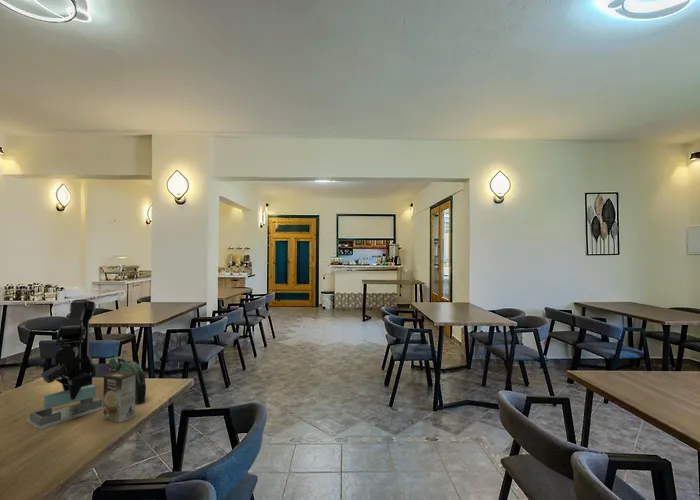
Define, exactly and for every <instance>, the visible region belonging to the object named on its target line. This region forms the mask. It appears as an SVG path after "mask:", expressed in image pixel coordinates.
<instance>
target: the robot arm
mask: <svg viewBox="0 0 700 500" xmlns="http://www.w3.org/2000/svg"><path fill="white" fill-rule="evenodd" d="M69 307H70V308H69V312H70V313H69V316H68V319H67V320H65V321H63V322H62V323H61V325H60V327H59V328H58V331H57V336H56V342H55V345H56V346H60V349H59V350H58V351H57V352H56V353H55V356H54V358H55V361H56V362H57V363H58V365H55V366H53V367H51V368H49V369H48V370H46V371H45V370H44V371H43V372H41V376H42V379H43V381H44V382H45V383H48V384H50V383H54V381H56V382H58V383H60V384H61V386H62V389H63V391H66V390H70V396H71V400H73V399H75V398H76V396H77V394H78V392H79V390H80V389H81V387H83V386H88V385H92V384H93V378H94V377H96V376H97V366H96V365H95V363H93V362H94V361H93V360H94V359H93V357H92V356H91V355H90V354H89V347H90V346H89V343H90V342H89V341H90V320H91V319H92V318H93V316H94V314H95V312H96V307H97V306H96V303H95V302H94V301H91V300H88V299H75V300H72V301H71V303H70V305H69Z"/></svg>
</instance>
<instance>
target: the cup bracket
mask: <svg viewBox="0 0 700 500" xmlns="http://www.w3.org/2000/svg"><path fill="white" fill-rule="evenodd" d="M99 410H103V399H102V398H100V399H98V398H95V397H92V398H88V399H84V400H80V401H79V403H76V404H73V405H69V406H67V407H63V408H59V409H57V410H53V407H52V408H48V409H45V408H43V409H39V410H36V411H33V412H30V414H29V418H27V419H26V422H27V423H28V424H30V425H31V426H32V427H35V428H36V429H37V430H43V429H47V428H49V427H52V426H55V425H58V424H60V423H65V422H67V421H70V420H72V419H77V418H79V417H82V416H85V415H88V414H91V413H94V412H98V411H99Z"/></svg>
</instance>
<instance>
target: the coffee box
mask: <svg viewBox="0 0 700 500" xmlns="http://www.w3.org/2000/svg"><path fill="white" fill-rule="evenodd" d="M135 382H136V373H130V372H125V371H116V372H113V373H112V372H110V373H107V374H105V375H103V395H102V396H103V397H102V398H103V399H102V400H103V409H102V419H103V420H105V421H106V420H107V421H111V422H115V423H119V424H120V423H122V422H125V421H127V420H129V419H131V418H132V417H135V415H136V414H135V413H136V404H135Z"/></svg>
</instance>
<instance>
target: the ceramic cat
mask: <svg viewBox="0 0 700 500" xmlns="http://www.w3.org/2000/svg"><path fill="white" fill-rule="evenodd" d="M124 353H125V354H126V355H127V356H128V352H127V350H124V351H123V352H122V354H124ZM108 371H109V372H110V373H113V372H116V371H125V372H130V373H136V382H135V405H141V404H143V403H145V401H146V391H147V385H146V378H145V377H146V376H145V372H144V371H143V368H142V367H141V365H140V364H139V363H137V362H136V361H135V360H128V359H127V357H126V356H124V355H120V356H116V354H114V353H113V354H112V357H111V358H110V360H109V361H108Z"/></svg>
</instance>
